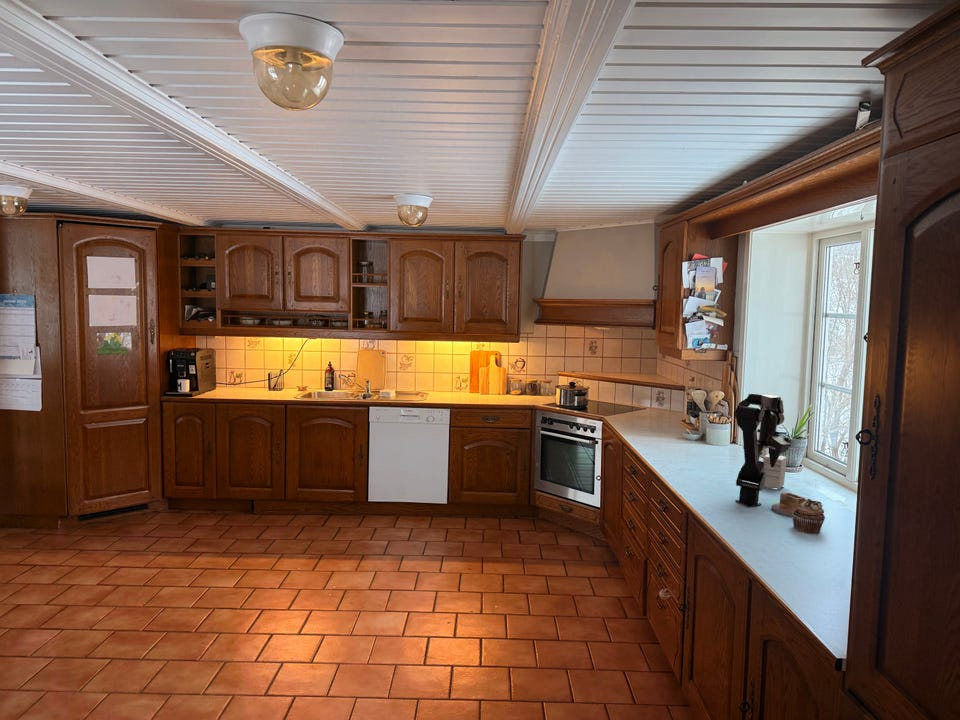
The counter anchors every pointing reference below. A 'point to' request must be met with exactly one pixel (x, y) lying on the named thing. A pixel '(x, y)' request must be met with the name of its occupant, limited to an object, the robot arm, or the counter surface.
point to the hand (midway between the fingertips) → (763, 467)
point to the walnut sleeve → (790, 501)
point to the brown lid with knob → (781, 510)
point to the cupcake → (808, 517)
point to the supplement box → (774, 472)
